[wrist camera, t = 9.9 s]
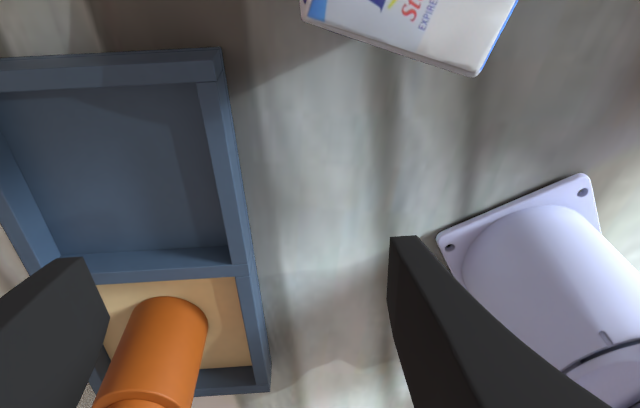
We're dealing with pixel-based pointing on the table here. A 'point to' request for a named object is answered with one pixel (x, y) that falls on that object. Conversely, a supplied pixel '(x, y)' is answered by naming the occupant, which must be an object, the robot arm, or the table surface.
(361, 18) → the medicine box
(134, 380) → the bottle
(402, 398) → the table surface
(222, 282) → the tray
